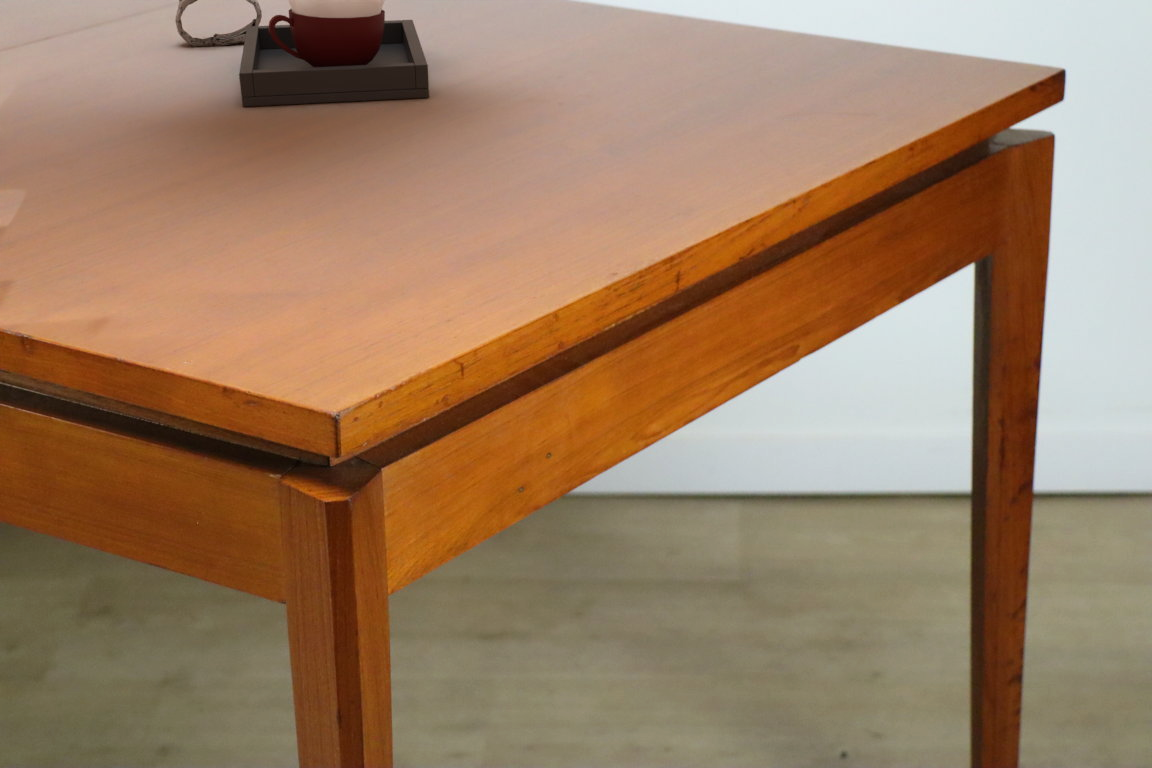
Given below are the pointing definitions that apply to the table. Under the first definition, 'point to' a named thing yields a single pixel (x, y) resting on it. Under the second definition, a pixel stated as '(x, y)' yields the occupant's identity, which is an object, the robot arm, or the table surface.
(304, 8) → the cocoa
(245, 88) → the dark rectangular tray
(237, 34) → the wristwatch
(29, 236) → the table surface
